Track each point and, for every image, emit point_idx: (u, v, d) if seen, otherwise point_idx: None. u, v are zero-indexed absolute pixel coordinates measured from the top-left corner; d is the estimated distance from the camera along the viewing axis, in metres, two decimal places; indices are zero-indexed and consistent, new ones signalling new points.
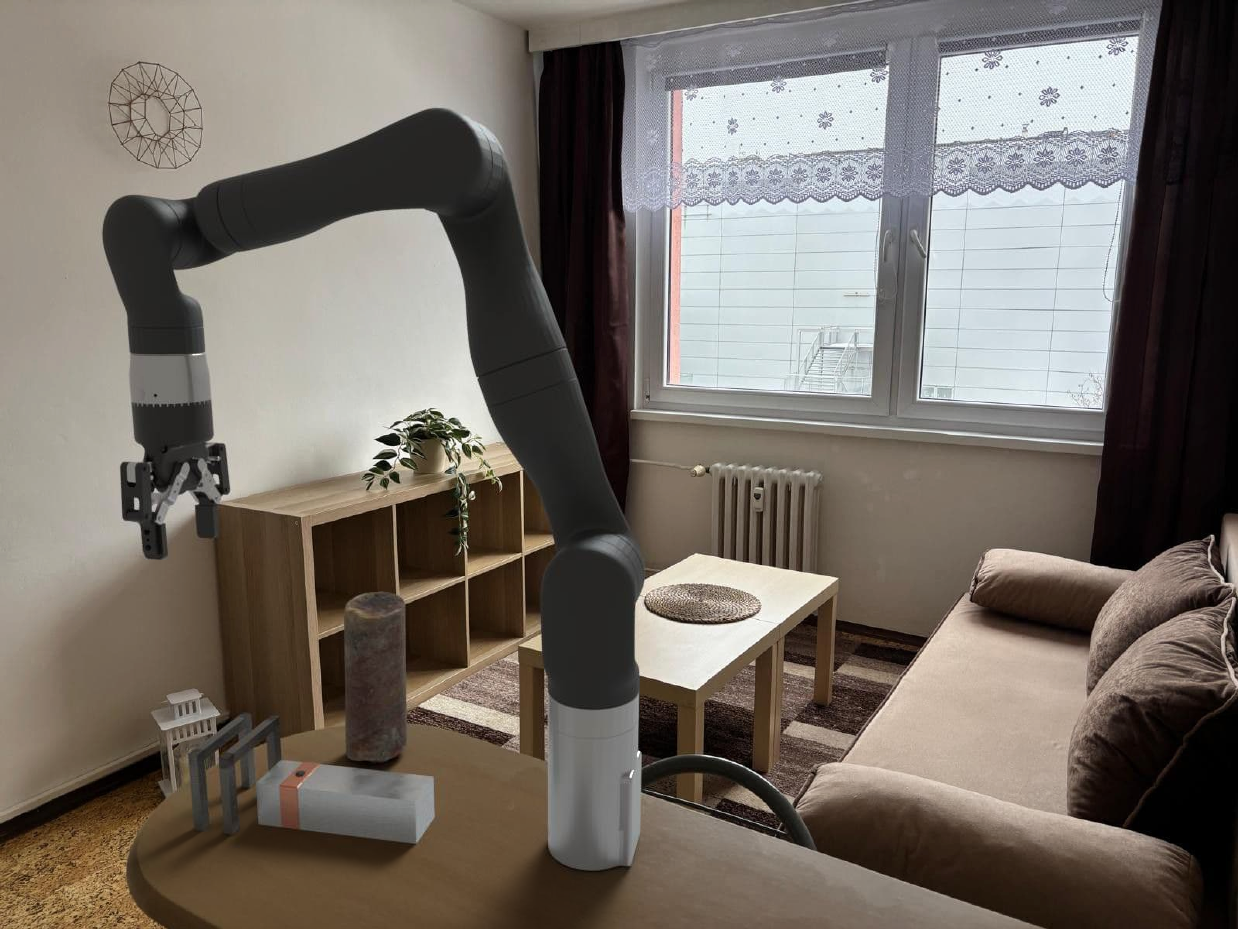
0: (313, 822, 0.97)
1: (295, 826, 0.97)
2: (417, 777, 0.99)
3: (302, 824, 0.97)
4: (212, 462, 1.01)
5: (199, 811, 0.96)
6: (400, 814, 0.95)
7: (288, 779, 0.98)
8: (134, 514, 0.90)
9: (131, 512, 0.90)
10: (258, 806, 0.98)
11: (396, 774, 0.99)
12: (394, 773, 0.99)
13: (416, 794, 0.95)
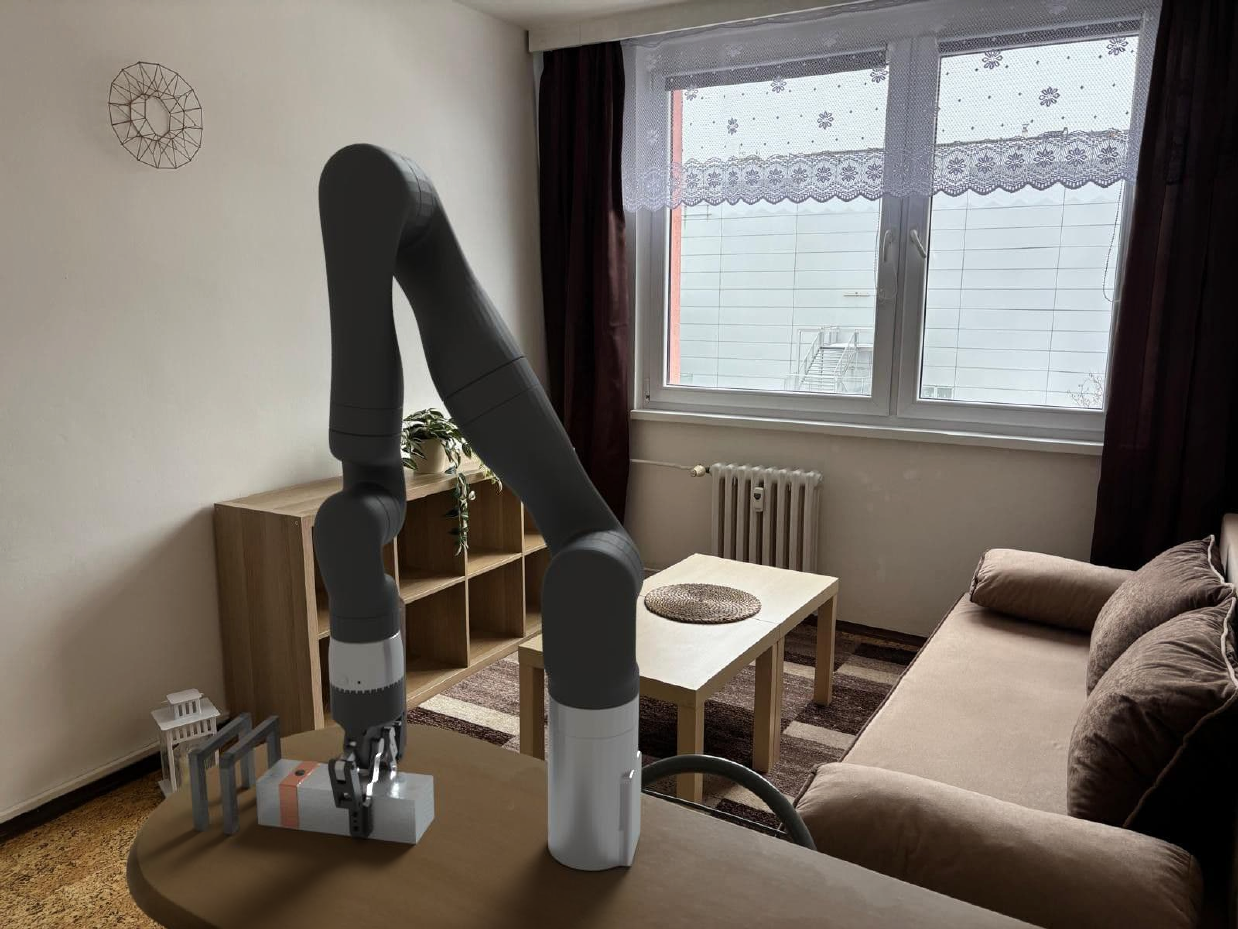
0: (313, 821, 0.97)
1: (295, 825, 0.97)
2: (416, 776, 0.99)
3: (302, 823, 0.97)
4: (393, 727, 1.01)
5: (199, 811, 0.96)
6: (400, 813, 0.95)
7: (288, 778, 0.98)
8: (347, 803, 0.92)
9: (344, 801, 0.92)
10: (258, 805, 0.98)
11: (396, 773, 0.99)
12: (394, 772, 0.99)
13: (416, 793, 0.95)
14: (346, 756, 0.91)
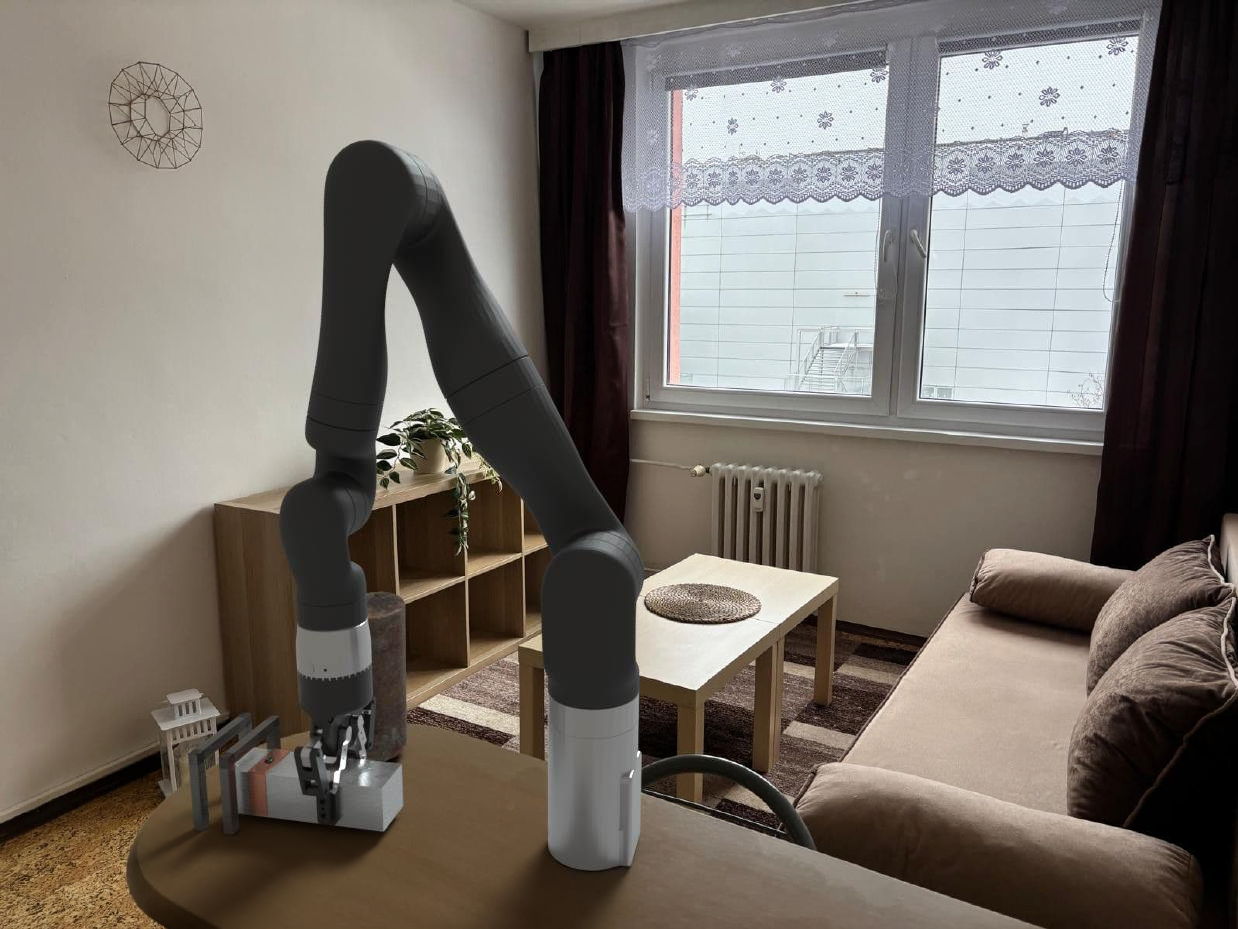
0: (281, 808, 0.97)
1: (263, 812, 0.98)
2: (385, 764, 0.99)
3: (270, 810, 0.98)
4: (362, 715, 1.02)
5: (199, 811, 0.96)
6: (367, 801, 0.95)
7: (257, 766, 0.98)
8: (314, 790, 0.92)
9: (311, 788, 0.93)
10: None
11: (365, 761, 1.00)
12: (363, 760, 1.00)
13: (384, 781, 0.96)
14: (312, 743, 0.92)
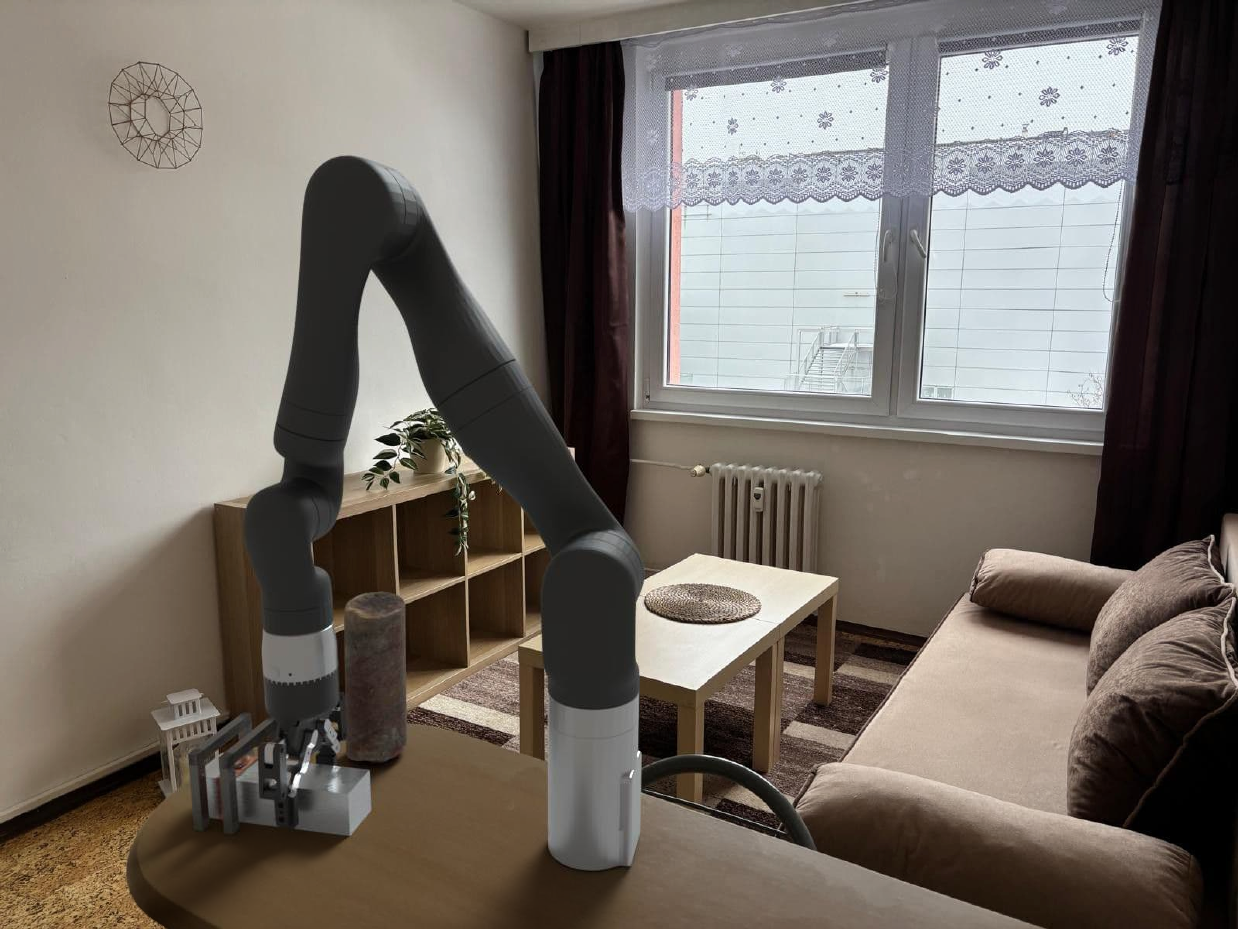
0: (249, 814, 0.98)
1: None
2: (353, 770, 1.00)
3: (239, 816, 0.98)
4: (332, 712, 1.03)
5: (199, 811, 0.96)
6: (333, 807, 0.96)
7: None
8: (271, 794, 0.92)
9: (268, 791, 0.92)
10: None
11: (333, 767, 1.01)
12: (331, 766, 1.01)
13: (350, 787, 0.97)
14: (277, 741, 0.93)
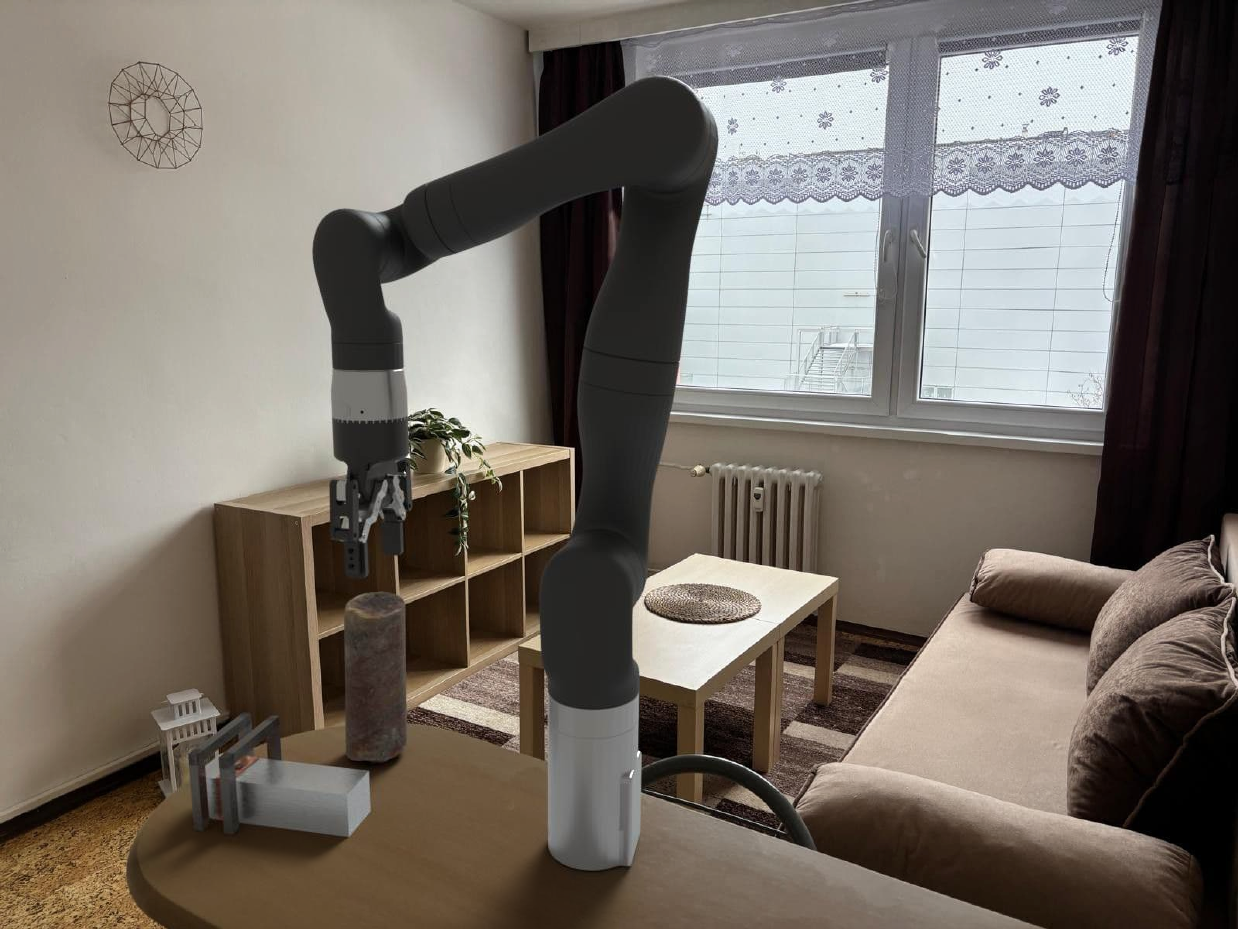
0: (249, 815, 0.98)
1: None
2: (352, 771, 1.00)
3: None
4: (398, 478, 1.00)
5: (199, 811, 0.96)
6: (332, 808, 0.96)
7: None
8: (343, 533, 0.88)
9: (339, 531, 0.89)
10: None
11: (332, 768, 1.00)
12: (330, 767, 1.01)
13: (349, 788, 0.96)
14: None
